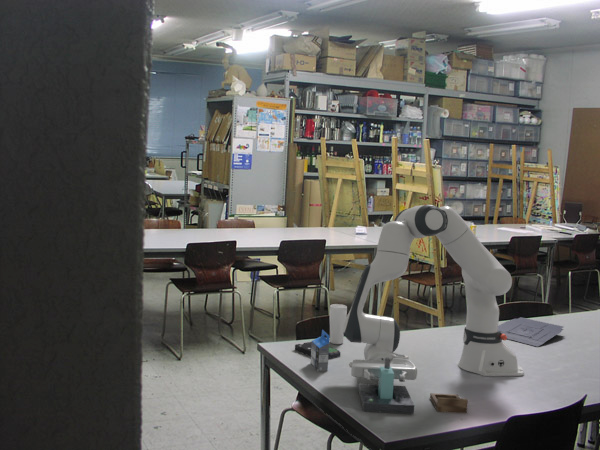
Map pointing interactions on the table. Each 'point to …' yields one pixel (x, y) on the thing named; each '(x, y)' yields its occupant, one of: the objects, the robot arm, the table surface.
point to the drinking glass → (337, 322)
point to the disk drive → (306, 350)
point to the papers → (529, 331)
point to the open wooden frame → (449, 403)
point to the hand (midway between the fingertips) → (386, 378)
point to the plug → (386, 381)
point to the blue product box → (320, 352)
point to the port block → (385, 400)
